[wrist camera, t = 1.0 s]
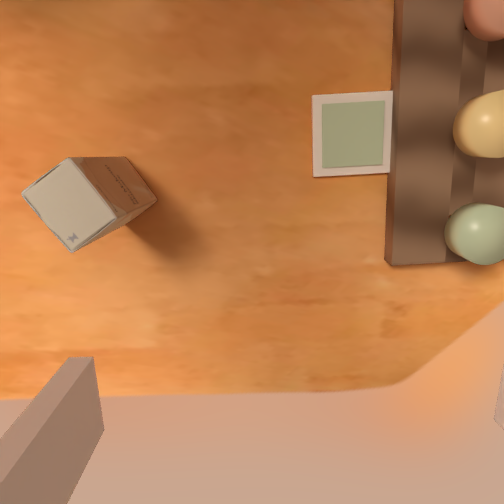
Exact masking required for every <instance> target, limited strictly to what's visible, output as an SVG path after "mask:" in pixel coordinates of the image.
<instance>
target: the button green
mask: <svg viewBox="0 0 504 504" xmlns="http://www.w3.org/2000/svg"><path fill="white" fill-rule="evenodd" d="M444 236H445V241H446V244H447V246H448V247H449V249H450V250H451V251H452V252H454V253H455V254H457V255H459V256H461V257H463V258H465V259H467V260H469V261H471V262H473V263H475V264H479V265H490V264H494V263H497V262H499V261H501V260H503V259H504V208H502V207H498V206H494V205H490V204H485V203H480V202H473V203H468V204H466V205H463V206H461V207H460V208H458V209H457V210H456V211H455V212H454V213H453V214H452V215H451V216H450V217H449V219H448V221H447V223H446V226H445V231H444Z"/></svg>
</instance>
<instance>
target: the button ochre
mask: <svg viewBox="0 0 504 504" xmlns="http://www.w3.org/2000/svg"><path fill="white" fill-rule="evenodd" d="M453 137H454V141H455V143H456V145H457V147H458V148H459V149H460V150H461V151H462V152H463V153H465V154H466V155H469V156H472V157H486V158H502V157H504V90H500V91H496V92H491V93H487V94H483V95H479V96H476V97H474V98H472V99H470V100H469V101H468V102H466V103H465V104H464V105H463V106H462V107H461V109H460V110H459V112H458V113H457V115H456V117H455V120H454V124H453Z"/></svg>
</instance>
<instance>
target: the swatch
mask: <svg viewBox="0 0 504 504" xmlns="http://www.w3.org/2000/svg"><path fill="white" fill-rule="evenodd" d="M392 102H393V90H392V91H375V92H359V93H342V94H325V95H312V163H313V177H321V176H338V175H356V174H373V173H390V152H391V127H392Z"/></svg>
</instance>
